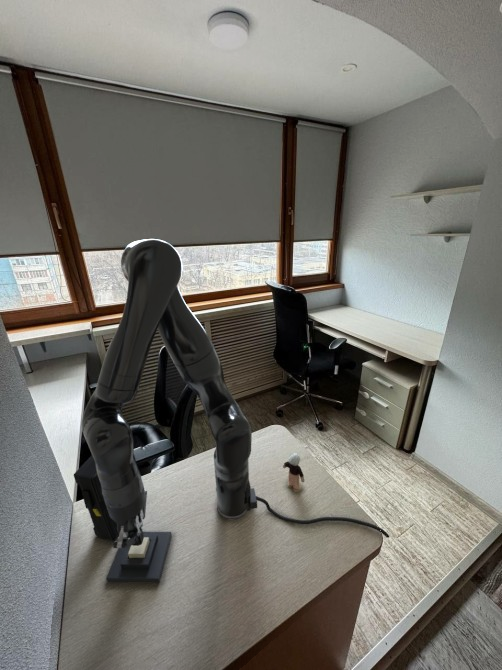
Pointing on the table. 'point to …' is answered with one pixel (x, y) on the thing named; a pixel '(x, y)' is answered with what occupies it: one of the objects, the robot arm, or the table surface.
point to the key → (139, 549)
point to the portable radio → (95, 501)
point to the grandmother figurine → (294, 472)
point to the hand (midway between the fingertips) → (138, 541)
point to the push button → (141, 561)
